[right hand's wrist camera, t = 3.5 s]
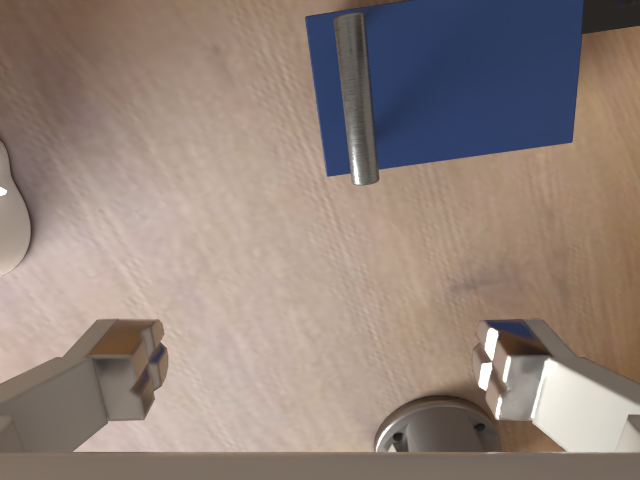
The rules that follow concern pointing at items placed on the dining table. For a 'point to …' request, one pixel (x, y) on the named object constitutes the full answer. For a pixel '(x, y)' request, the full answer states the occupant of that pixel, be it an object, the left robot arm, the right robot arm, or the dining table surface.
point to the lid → (443, 80)
